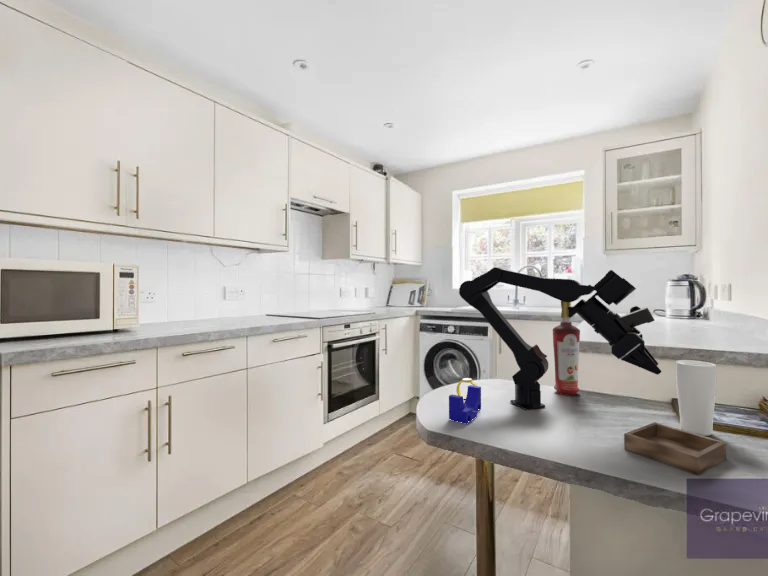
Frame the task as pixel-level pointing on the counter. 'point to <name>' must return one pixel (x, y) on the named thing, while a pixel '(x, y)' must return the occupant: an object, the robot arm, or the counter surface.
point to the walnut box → (676, 447)
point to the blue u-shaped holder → (465, 405)
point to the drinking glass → (696, 395)
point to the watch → (466, 380)
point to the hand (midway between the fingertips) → (658, 369)
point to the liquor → (566, 354)
